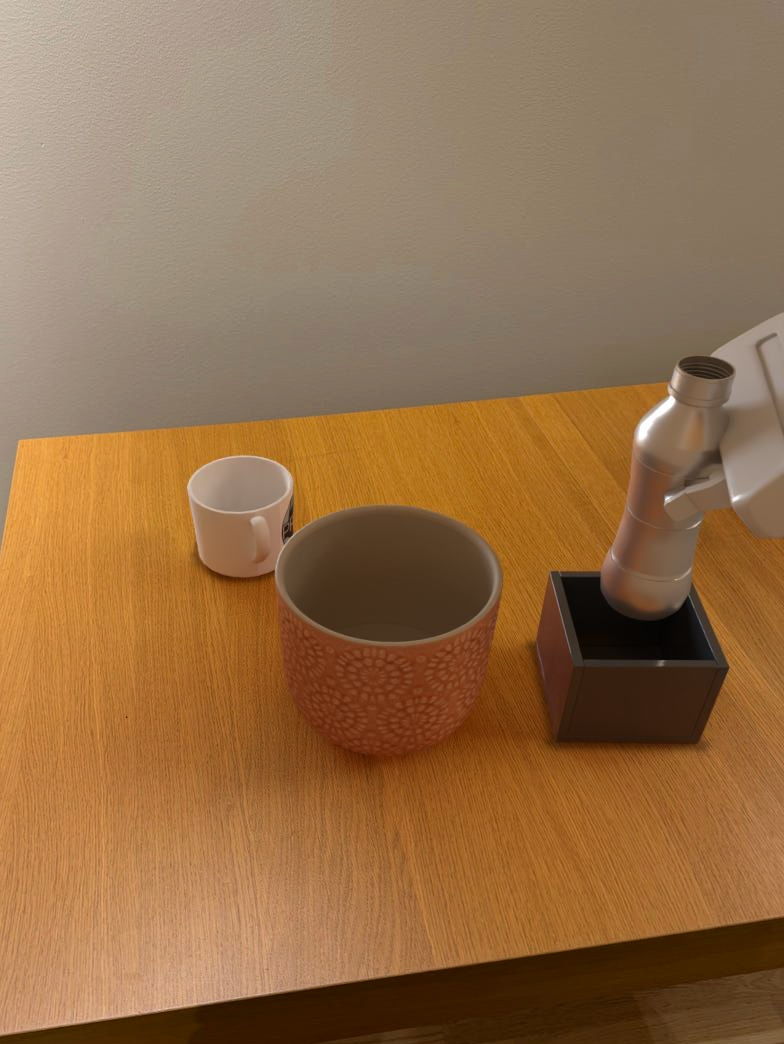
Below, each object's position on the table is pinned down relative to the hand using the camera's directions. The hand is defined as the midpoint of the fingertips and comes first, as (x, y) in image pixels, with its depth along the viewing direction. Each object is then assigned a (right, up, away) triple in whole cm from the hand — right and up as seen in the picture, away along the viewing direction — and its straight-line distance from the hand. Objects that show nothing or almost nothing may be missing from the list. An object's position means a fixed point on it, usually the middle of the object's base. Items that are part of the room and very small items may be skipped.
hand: (664, 481), depth 65 cm
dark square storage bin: (+1, -16, +14) cm, 21 cm away
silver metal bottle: (+1, -9, +8) cm, 11 cm away
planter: (-19, -17, +14) cm, 29 cm away
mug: (-31, -3, +30) cm, 43 cm away
